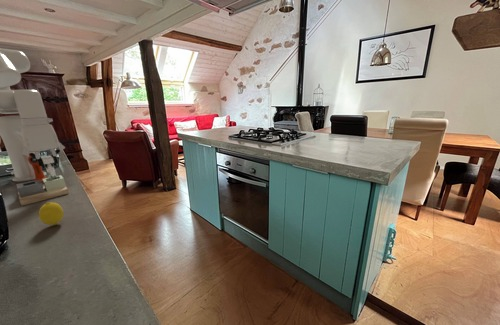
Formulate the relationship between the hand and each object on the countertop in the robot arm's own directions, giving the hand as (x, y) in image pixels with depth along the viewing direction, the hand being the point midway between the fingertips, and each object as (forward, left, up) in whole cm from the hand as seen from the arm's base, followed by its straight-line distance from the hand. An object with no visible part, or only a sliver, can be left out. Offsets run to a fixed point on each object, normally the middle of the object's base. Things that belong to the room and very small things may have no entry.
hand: (49, 166), depth 90 cm
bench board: (-3, -3, -12) cm, 12 cm away
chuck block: (-5, -6, -10) cm, 12 cm away
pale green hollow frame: (0, 0, -10) cm, 10 cm away
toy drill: (-16, +8, -12) cm, 22 cm away
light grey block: (0, 0, -6) cm, 6 cm away
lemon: (+25, -24, -12) cm, 37 cm away
